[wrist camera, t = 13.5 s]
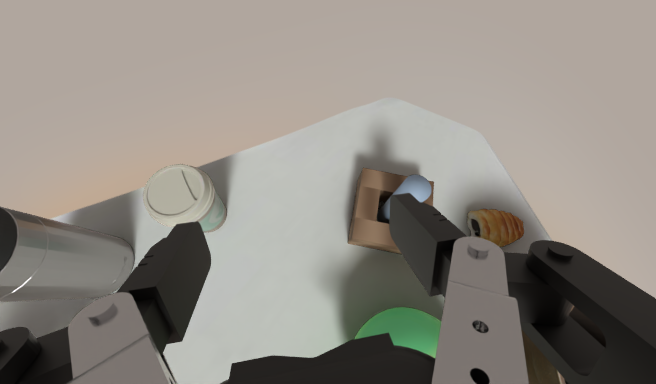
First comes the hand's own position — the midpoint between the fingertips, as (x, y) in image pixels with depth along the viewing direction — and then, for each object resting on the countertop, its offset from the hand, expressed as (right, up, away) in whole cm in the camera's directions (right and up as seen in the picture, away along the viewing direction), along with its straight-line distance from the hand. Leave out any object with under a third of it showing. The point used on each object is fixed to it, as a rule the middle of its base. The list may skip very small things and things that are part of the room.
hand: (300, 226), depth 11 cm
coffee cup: (-19, -3, +33) cm, 38 cm away
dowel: (+12, -3, +35) cm, 37 cm away
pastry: (+30, -5, +35) cm, 47 cm away
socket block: (+11, -3, +35) cm, 37 cm away
